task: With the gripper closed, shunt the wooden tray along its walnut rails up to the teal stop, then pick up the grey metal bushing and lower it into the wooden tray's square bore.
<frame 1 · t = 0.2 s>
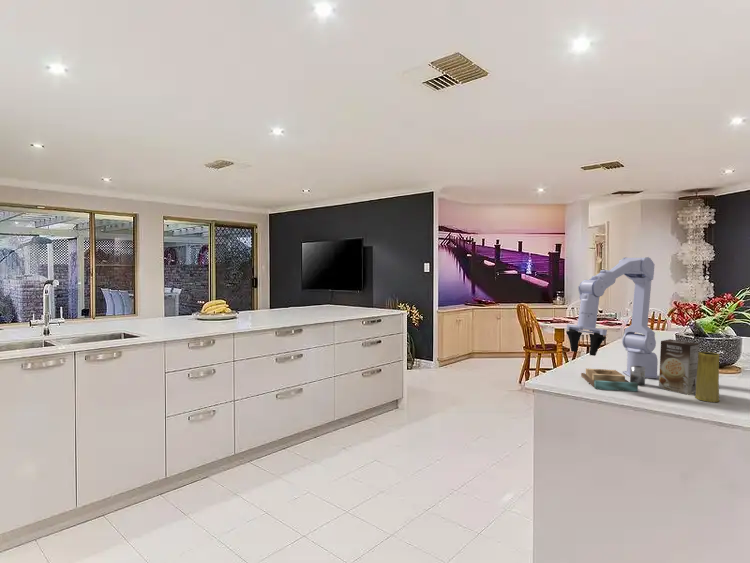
hand: (582, 353, 158), 10 cm above the worktop, tool pointing down, fingers open, 7 cm apart
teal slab: (604, 380, 162), on the worktop
bushing: (637, 384, 159), on the worktop
wooden tray: (604, 376, 162), point 2 cm above the worktop, slide at 0.0 cm
vase: (706, 400, 140), on the worktop
coffee box: (677, 390, 151), on the worktop
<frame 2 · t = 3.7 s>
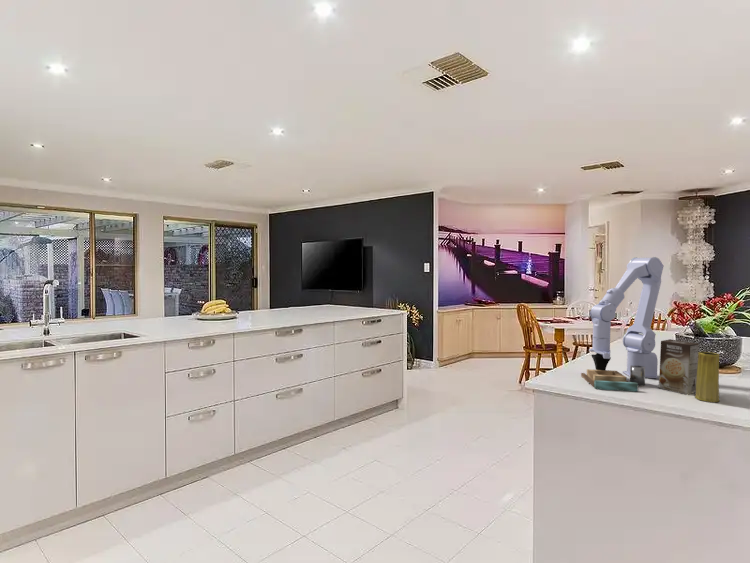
hand: (600, 374, 167), 1 cm above the worktop, tool pointing down, fingers closed
wooden tray: (605, 377, 161), point 2 cm above the worktop, slide at 1.3 cm, touching gripper
everything else where it was.
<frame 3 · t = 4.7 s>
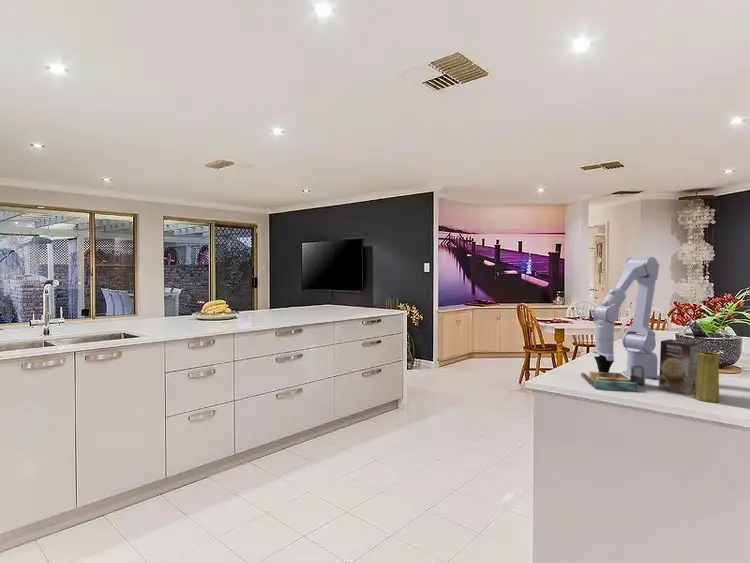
hand: (603, 377, 164), 1 cm above the worktop, tool pointing down, fingers closed
wooden tray: (609, 379, 157), point 2 cm above the worktop, slide at 5.0 cm, touching gripper
everything else where it was.
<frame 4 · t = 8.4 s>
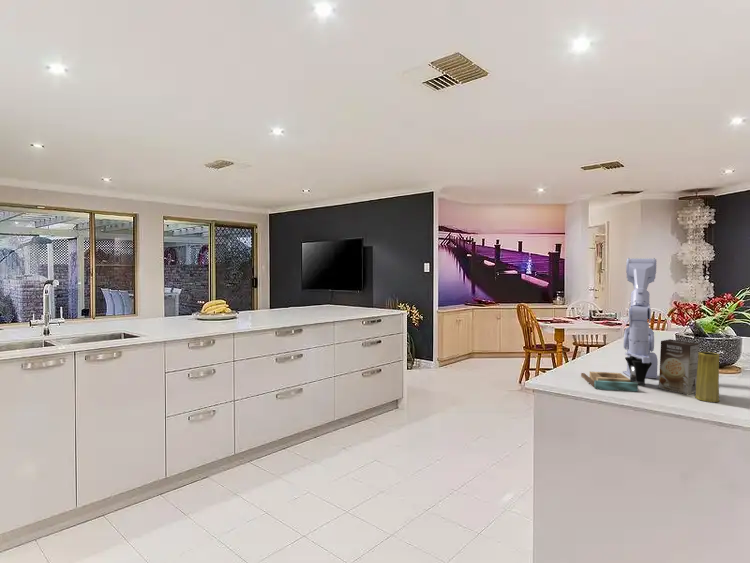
hand: (637, 379, 159), 1 cm above the worktop, tool pointing down, fingers closed on bushing, 4 cm apart
bushing: (637, 383, 159), on the worktop, touching gripper
wooden tray: (609, 379, 157), point 2 cm above the worktop, slide at 5.0 cm
everything else where it was.
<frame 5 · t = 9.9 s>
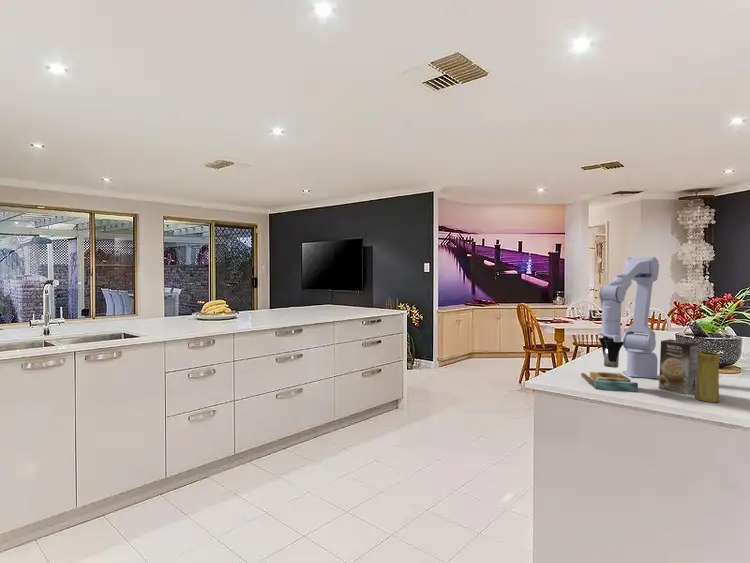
hand: (610, 360, 157), 8 cm above the worktop, tool pointing down, fingers closed on bushing, 4 cm apart
bushing: (611, 366, 157), point 6 cm above the worktop, touching gripper
everything else where it was.
when the fingers open (4 cm above the worktop, at t = 11.6 s): bushing drops 2 cm, resting in wooden tray.
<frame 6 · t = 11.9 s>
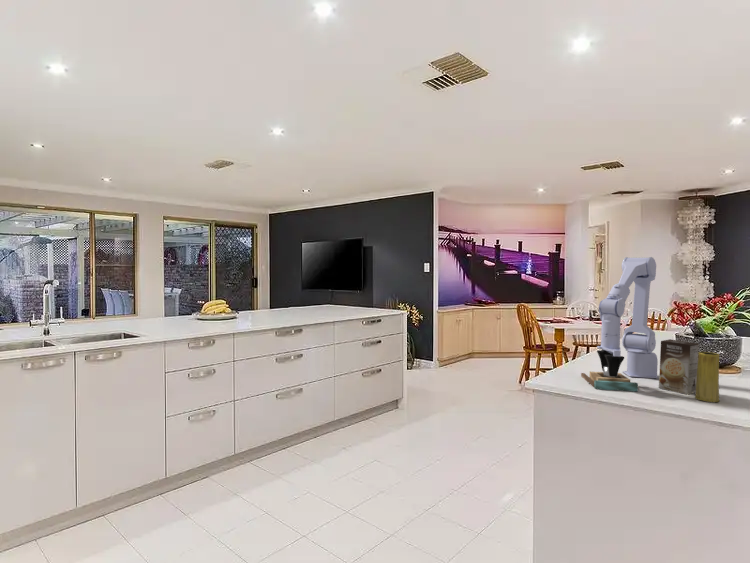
hand: (609, 373, 157), 4 cm above the worktop, tool pointing down, fingers open, 7 cm apart
bushing: (610, 384, 157), resting in wooden tray
everything else where it was.
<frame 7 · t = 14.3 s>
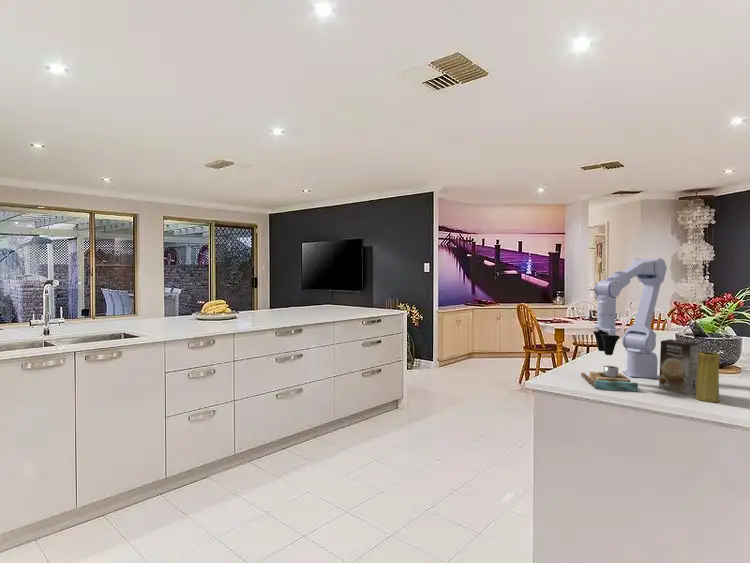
hand: (605, 353, 162), 10 cm above the worktop, tool pointing down, fingers open, 7 cm apart
nothing on the worktop moved.
at the end: wooden tray slide at 5.0 cm; bushing 0.4 cm off-centre on the wooden tray, point 0.0 cm above the wooden tray's base; bushing tilted 1° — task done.
